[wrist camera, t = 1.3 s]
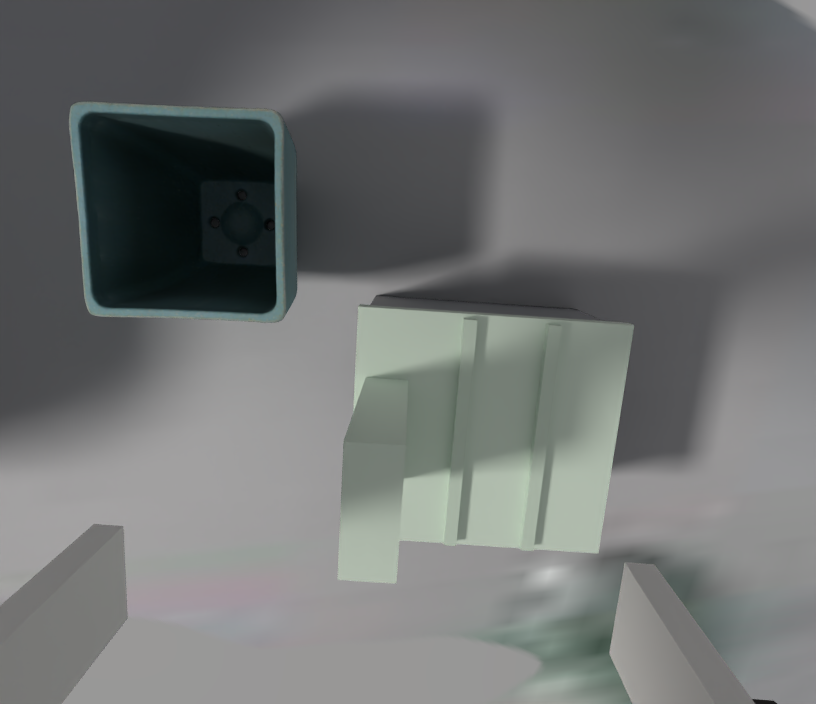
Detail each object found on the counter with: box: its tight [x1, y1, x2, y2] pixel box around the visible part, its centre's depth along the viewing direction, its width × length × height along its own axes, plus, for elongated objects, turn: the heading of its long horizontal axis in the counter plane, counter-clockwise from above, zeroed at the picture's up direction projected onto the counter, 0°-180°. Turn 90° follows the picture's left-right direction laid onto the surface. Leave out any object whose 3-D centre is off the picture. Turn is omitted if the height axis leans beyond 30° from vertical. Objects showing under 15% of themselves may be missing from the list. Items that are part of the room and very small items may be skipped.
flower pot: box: [69, 101, 297, 323], centre depth 27 cm, size 9×9×9 cm
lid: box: [338, 304, 634, 584], centre depth 22 cm, size 13×12×10 cm
